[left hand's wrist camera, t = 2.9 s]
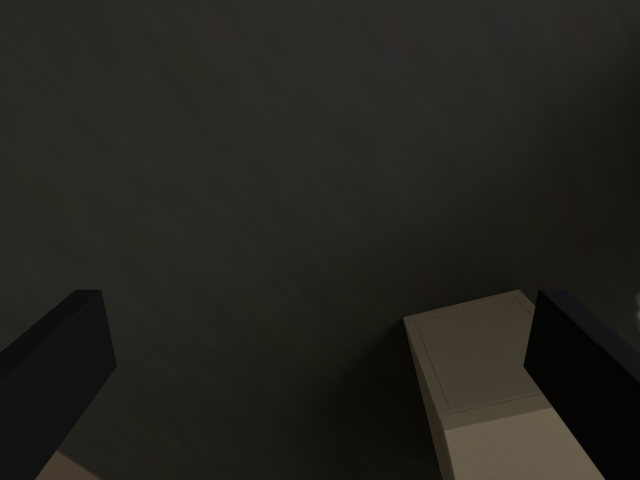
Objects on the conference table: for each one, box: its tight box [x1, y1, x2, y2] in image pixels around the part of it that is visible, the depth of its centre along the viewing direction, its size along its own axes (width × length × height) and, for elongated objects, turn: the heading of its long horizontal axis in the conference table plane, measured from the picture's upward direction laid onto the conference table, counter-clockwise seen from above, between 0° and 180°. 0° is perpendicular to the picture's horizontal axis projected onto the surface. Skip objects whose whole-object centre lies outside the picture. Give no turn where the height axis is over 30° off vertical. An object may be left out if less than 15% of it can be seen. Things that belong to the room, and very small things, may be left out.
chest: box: [403, 289, 543, 480], centre depth 30 cm, size 17×9×10 cm, turn 16°
